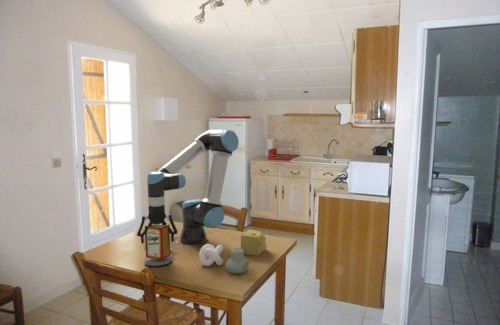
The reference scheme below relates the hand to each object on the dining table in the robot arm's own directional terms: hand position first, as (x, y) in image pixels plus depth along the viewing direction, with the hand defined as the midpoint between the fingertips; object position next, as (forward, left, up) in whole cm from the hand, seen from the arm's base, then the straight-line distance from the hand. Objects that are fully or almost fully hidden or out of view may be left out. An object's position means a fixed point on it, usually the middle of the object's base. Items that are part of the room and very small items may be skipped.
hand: (158, 248), depth 177 cm
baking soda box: (0, 0, -4) cm, 4 cm away
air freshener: (-36, +18, -7) cm, 41 cm away
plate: (0, 0, -7) cm, 7 cm away
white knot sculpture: (-26, +8, -7) cm, 28 cm away
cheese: (-48, -5, -7) cm, 49 cm away
